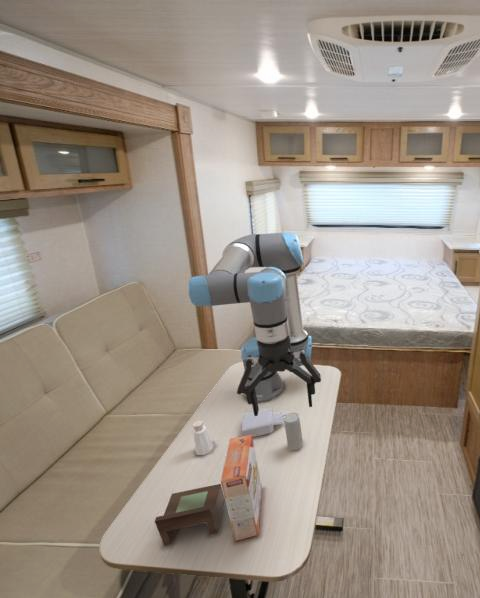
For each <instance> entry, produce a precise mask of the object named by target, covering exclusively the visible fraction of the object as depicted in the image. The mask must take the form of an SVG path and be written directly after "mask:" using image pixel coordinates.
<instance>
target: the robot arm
mask: <svg viewBox="0 0 480 598" xmlns="http://www.w3.org/2000/svg"><path fill="white" fill-rule="evenodd" d="M221 254H222V255H221V256H222V257H221V258H220V259H219V260H218V261H217V263H216V264H215V265H214V267H213V268H211V271H210V272H208V274H206V275H204V274H201V275H197V276H192V277H191V278H189V280H188V284H187V290H188V292H187V293H188V297H189V300H190V302H191V304H192V305H194V306H195V307H215V306H225V305H226V306H227V305H235V304H247V303H249V304H250V310H251V314H252V320H253V327H254V333H255V336H254V337H252V338H250V339H249V340H246V341H245V342H244V343H243V344H242V346H241V348H240V353H241V360H242V364H243V369H244V372H243V373H242V376H241V378H240V381H239V384H238V386H237V390H236V394H237V395H241V394H244V398H245V400H246V402H247V404H248V405H252V410H253V411H254V416H258V411H259V410H260V406H259V403H262V402H264V403H265V402H267V401H268V402H269V401H271V400H273V399H275V398H277V397H278V396H280V395H281V393H282V392H283V391H284V388H285V387H284V385H285V384H284V381H283V379H282V377H281V376H280V374H279V373H278V372H285V371H286V370H287V371H288V372H289V373H293V375H295V376H297V377H298V378H299V379H301V380H302V381H304V383H306V390H307V391H306V392H307V401H308V406H309V408H313V398H312V396H313V395H315V394H316V386H315V385H316V384H317V383H321V382H322V375H321V373H320V372H319V371H318V370H317V368H316V367H315V365H314V364H313V363H312V347H313V346H312V345H313V344H312V343H313V342H312V336H311V335H308V331H306V330H305V329H304V326H303V318H302V309H301V300H300V292H299V291H300V290H299V283H298V275H297V274H298V273H299V272H300V270H301V266H303V265H304V263H305V262H304V257H303V251H302V247H301V243H300V239H299V237H298V236H297V234H295V233H293V232H271V233H257V234H256V233H254V234H253V233H252V234H248V235H244V236H241V237H239V238H236V239H234V240H233V241H231V242H230V243H228V244H227V245H226V246H225V247H224V249H223V250H222V253H221ZM250 268H251V269H252V268H263V269H262V270H260V271H253V272H252V271H251V272H246V271H248V270H249V269H250ZM302 366H304V368H305V369H306V370H307V371H306V370H305V369H303V368H302ZM253 411H252V412H253Z"/></svg>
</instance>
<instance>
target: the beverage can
mask: <svg viewBox="0 0 480 598" xmlns="http://www.w3.org/2000/svg"><path fill="white" fill-rule="evenodd" d="M286 414H287V415H286ZM286 414H285V415H286V416H284V417H283V418H284V419H283V423H284V429H285V437H286V442H287V447H288V449H289V450H291V451H299V450H300V449H301V448H302V447H303V444H304V441H303V433H302V426H301V419H300V415H299V413H297V412H290V413H286Z"/></svg>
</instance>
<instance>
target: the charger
mask: <svg viewBox="0 0 480 598" xmlns="http://www.w3.org/2000/svg"><path fill="white" fill-rule="evenodd" d="M287 414H288V413H286V414H283V412H276V413H274V411H273V409H272V408H270V407H268V408H263V409H259V411H258V416H254V411H248V412H244V413H242V424H241V433H242V436H247V435H252V436H253V438H255V437H260V436H263V435H264V436H265V435H268V434H272V432H273V431H275V430H274V429H275V427H274V426H278V425H281V424H283V423H284V418H285V416H286V415H287Z"/></svg>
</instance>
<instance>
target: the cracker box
mask: <svg viewBox="0 0 480 598" xmlns="http://www.w3.org/2000/svg"><path fill="white" fill-rule="evenodd" d="M220 484H221V486H222V490H223V494H224V498H225V501H224V502H225V504H226V509H227V512H228V518H229V521H230V526H231V529H232V533H233V537H234V541H235V542H238V541H241V540H246V539H249V538H253V537H257V536H259V532H260V531H259V529H260V518H261V510H262V509H261V506H262V497H263V486H262V480H261V476H260V470H259V464H258V460H257V454H256V448H255V442H254V437H253V436H252V435H247V436H243V435H242V436H237V437H232V438H230V439H229V441H228V445H227V451H226V455H225V460H224V464H223V470H222V474H221V478H220Z"/></svg>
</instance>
